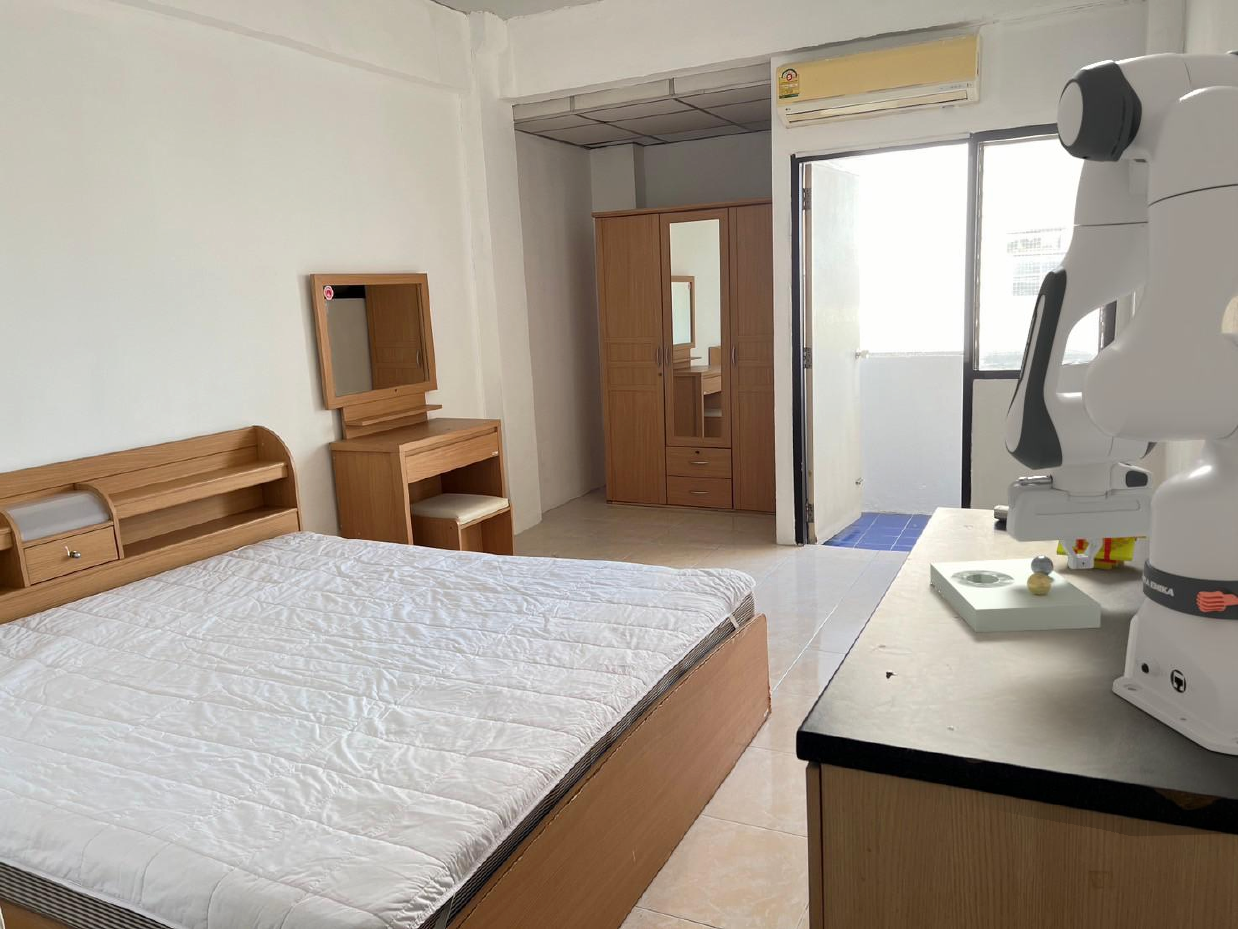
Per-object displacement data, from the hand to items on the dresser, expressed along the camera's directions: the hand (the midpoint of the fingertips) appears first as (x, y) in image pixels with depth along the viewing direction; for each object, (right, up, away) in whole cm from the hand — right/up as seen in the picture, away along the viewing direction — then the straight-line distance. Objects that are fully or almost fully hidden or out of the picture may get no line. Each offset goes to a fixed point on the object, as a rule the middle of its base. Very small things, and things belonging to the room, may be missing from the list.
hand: (1080, 567), depth 131 cm
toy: (+10, -1, +15) cm, 18 cm away
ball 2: (-9, -1, -7) cm, 12 cm away
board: (-11, -5, 0) cm, 12 cm away
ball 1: (-5, 0, 0) cm, 6 cm away
